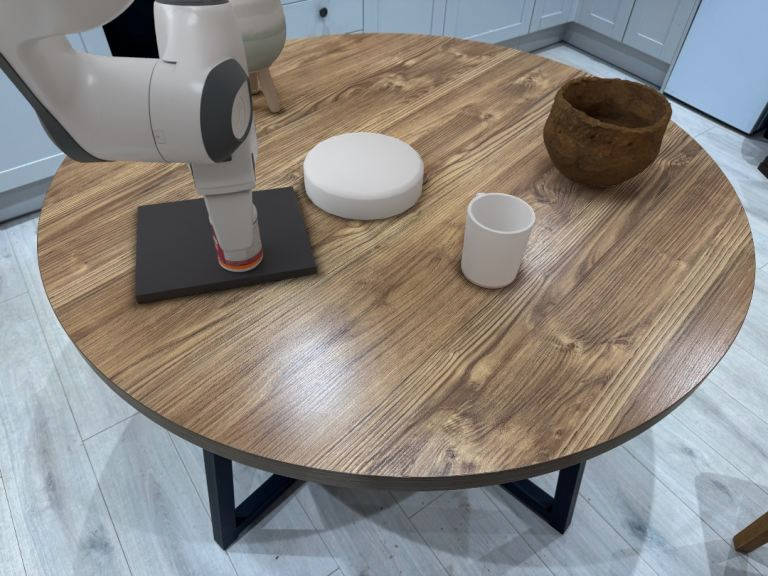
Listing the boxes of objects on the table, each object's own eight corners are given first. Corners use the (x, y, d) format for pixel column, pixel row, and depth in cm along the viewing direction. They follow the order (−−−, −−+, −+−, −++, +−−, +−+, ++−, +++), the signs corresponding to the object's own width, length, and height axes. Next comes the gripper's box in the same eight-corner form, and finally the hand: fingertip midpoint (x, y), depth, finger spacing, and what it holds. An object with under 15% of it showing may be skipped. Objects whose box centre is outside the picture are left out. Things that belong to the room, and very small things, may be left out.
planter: (302, 117, 112) (293, -5, 96) (219, 130, 107) (196, 4, 92) (280, 83, 123) (269, -32, 107) (204, 93, 118) (181, -26, 102)
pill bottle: (219, 246, 81) (205, 179, 73) (263, 243, 82) (253, 176, 74) (217, 275, 77) (202, 208, 69) (263, 272, 78) (253, 204, 70)
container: (433, 164, 102) (436, 140, 99) (406, 231, 88) (408, 206, 85) (327, 144, 105) (327, 121, 102) (286, 206, 91) (283, 181, 88)
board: (137, 303, 75) (134, 295, 74) (139, 213, 89) (137, 205, 87) (317, 274, 80) (316, 266, 79) (293, 193, 94) (292, 185, 93)
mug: (531, 283, 81) (548, 226, 73) (475, 297, 78) (487, 239, 71) (494, 236, 88) (506, 180, 81) (441, 248, 85) (449, 191, 78)
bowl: (556, 213, 93) (582, 130, 82) (519, 152, 106) (538, 74, 95) (662, 206, 95) (701, 125, 85) (614, 147, 108) (642, 71, 98)
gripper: (187, 102, 73) (206, 192, 83) (195, 192, 59) (217, 287, 69) (237, 97, 74) (250, 186, 84) (256, 185, 61) (270, 279, 70)
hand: (235, 232), depth 76 cm, fingers open, 8 cm apart
